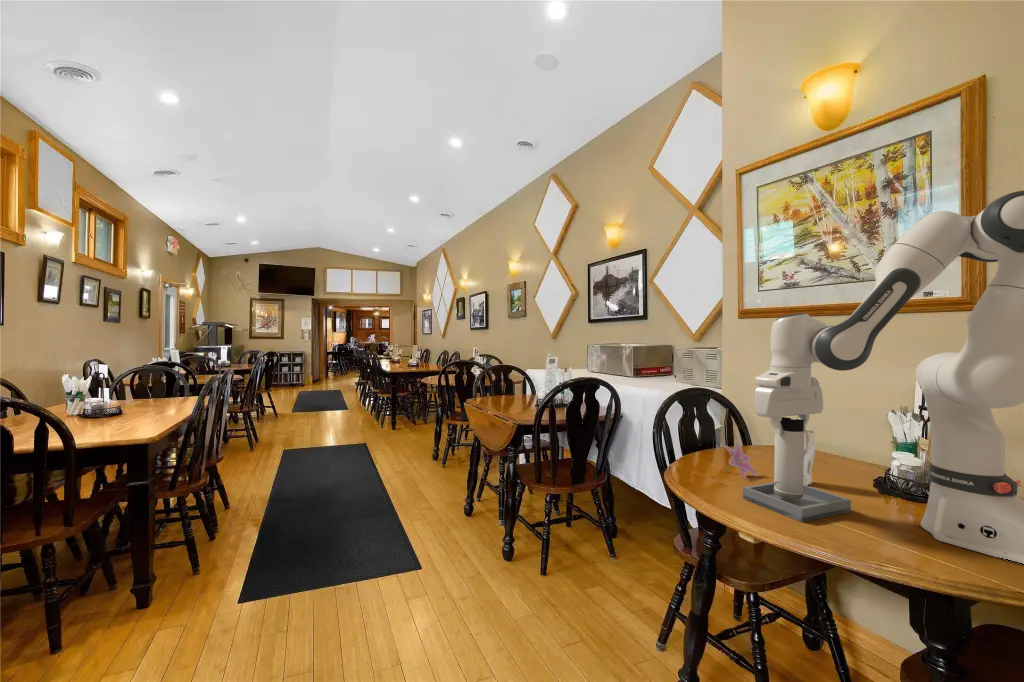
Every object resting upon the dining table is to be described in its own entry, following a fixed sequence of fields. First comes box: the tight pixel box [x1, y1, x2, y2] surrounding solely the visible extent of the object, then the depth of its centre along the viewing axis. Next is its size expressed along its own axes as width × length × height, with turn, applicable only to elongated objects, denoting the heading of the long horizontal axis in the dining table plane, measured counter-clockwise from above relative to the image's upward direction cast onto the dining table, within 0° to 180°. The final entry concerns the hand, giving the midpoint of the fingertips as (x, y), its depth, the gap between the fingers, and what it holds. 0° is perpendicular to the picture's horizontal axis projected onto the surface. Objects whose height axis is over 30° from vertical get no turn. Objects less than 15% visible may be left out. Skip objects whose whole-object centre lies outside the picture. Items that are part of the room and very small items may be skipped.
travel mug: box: [773, 416, 804, 499], centre depth 114 cm, size 6×7×20 cm
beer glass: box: [803, 429, 816, 486], centre depth 132 cm, size 7×7×15 cm
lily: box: [724, 439, 759, 479], centre depth 139 cm, size 12×12×10 cm
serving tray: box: [742, 481, 852, 523], centre depth 114 cm, size 16×17×3 cm
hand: (789, 433), depth 114 cm, fingers closed on travel mug, 6 cm apart
